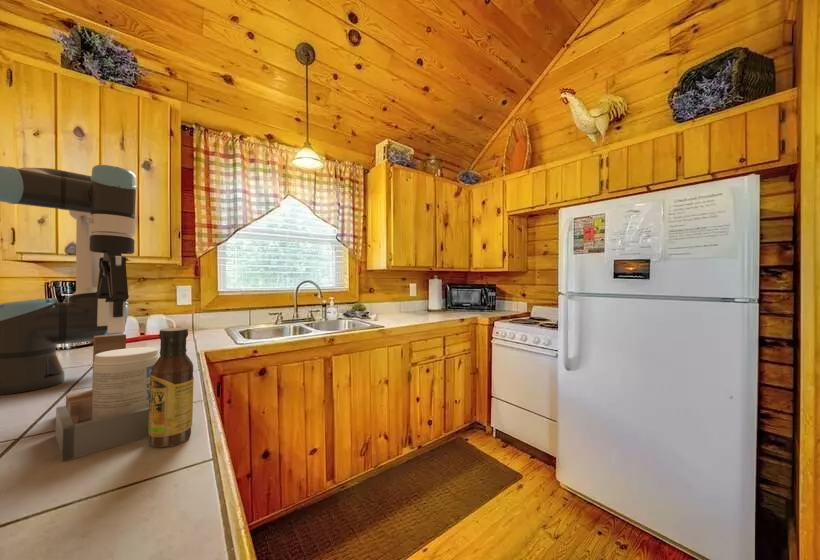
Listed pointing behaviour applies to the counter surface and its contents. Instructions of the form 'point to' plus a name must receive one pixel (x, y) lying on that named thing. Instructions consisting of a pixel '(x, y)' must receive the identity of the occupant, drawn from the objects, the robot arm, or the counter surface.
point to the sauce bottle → (171, 391)
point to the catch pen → (98, 432)
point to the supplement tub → (122, 380)
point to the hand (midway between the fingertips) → (110, 328)
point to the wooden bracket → (82, 401)
